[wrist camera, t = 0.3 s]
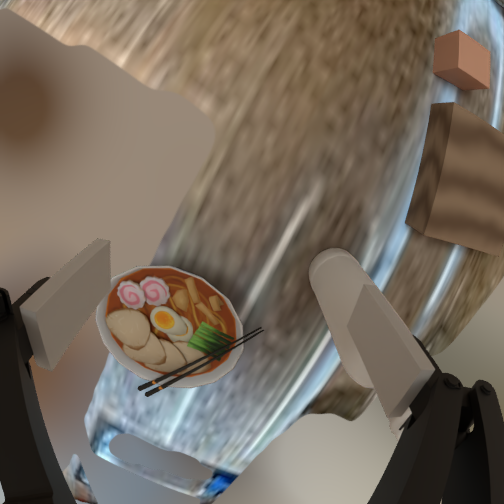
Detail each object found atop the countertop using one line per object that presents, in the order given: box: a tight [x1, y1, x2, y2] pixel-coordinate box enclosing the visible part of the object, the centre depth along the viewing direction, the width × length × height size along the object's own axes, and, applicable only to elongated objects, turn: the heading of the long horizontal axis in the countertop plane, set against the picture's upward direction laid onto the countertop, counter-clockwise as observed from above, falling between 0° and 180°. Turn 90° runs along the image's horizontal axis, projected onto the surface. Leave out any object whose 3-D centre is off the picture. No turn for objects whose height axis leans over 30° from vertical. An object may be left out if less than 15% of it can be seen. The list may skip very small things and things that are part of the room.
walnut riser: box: [405, 102, 504, 257], centre depth 36 cm, size 20×20×6 cm
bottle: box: [308, 248, 412, 441], centre depth 31 cm, size 8×8×30 cm
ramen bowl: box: [95, 266, 264, 397], centre depth 43 cm, size 25×23×8 cm
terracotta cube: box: [433, 30, 490, 90], centre depth 28 cm, size 7×7×7 cm
